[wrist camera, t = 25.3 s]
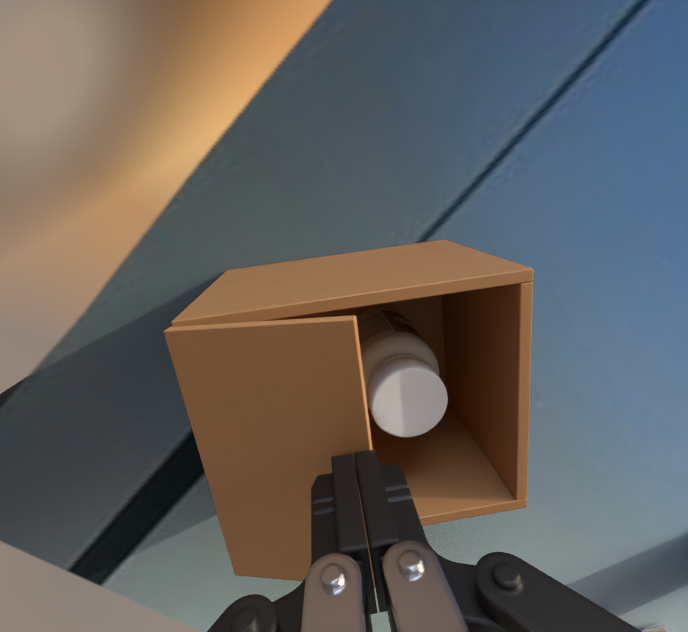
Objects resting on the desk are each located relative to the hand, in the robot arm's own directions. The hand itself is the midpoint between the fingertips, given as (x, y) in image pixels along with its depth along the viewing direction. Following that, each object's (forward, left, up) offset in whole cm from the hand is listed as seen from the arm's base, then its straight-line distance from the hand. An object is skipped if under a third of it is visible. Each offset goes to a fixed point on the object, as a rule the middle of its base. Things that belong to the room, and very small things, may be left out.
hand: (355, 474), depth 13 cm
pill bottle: (+3, 0, -12) cm, 12 cm away
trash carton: (+1, 0, -12) cm, 12 cm away
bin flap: (-2, 0, -1) cm, 3 cm away
